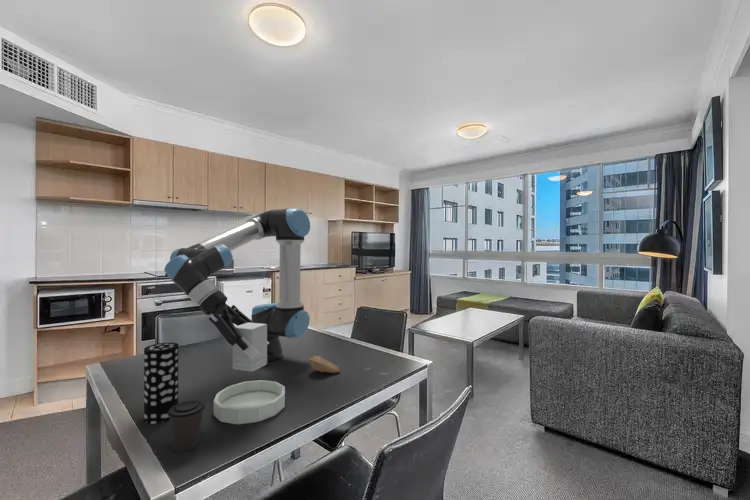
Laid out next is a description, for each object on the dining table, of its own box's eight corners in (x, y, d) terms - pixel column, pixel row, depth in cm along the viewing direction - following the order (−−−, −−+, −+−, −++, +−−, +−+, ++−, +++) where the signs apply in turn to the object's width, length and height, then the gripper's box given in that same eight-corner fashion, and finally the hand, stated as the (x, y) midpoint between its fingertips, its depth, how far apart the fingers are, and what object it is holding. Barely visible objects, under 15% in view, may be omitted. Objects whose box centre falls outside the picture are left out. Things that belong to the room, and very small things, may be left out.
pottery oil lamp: (339, 377, 126) (339, 358, 126) (306, 377, 126) (306, 359, 126) (339, 368, 135) (340, 351, 135) (309, 369, 134) (309, 351, 134)
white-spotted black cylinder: (154, 409, 100) (154, 342, 100) (183, 408, 101) (183, 342, 101) (137, 424, 92) (137, 351, 92) (169, 423, 93) (169, 351, 93)
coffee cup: (159, 449, 81) (159, 408, 81) (190, 432, 88) (190, 394, 88) (182, 458, 78) (182, 415, 78) (212, 440, 85) (212, 400, 85)
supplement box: (267, 364, 105) (268, 323, 105) (251, 372, 98) (252, 329, 98) (248, 361, 107) (248, 321, 107) (231, 369, 100) (231, 326, 100)
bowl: (243, 389, 115) (243, 377, 115) (296, 396, 110) (296, 384, 110) (198, 417, 96) (198, 404, 96) (260, 428, 91) (260, 413, 91)
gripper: (216, 300, 113) (263, 348, 113) (179, 313, 91) (237, 372, 92) (232, 285, 113) (279, 333, 113) (199, 294, 91) (257, 353, 92)
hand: (260, 350), depth 103 cm, fingers closed on supplement box, 9 cm apart
